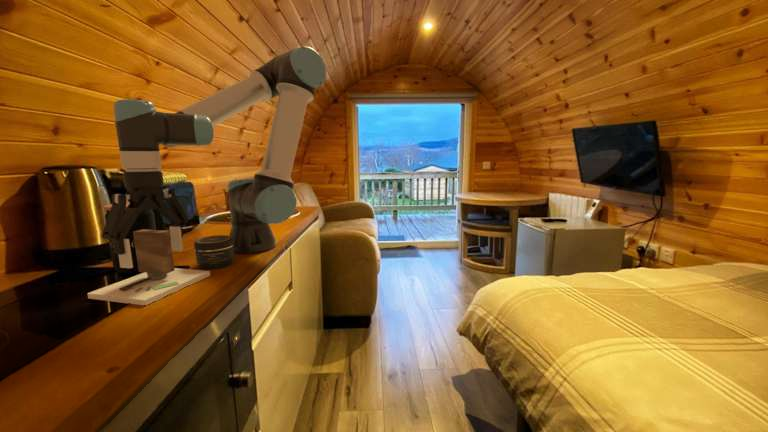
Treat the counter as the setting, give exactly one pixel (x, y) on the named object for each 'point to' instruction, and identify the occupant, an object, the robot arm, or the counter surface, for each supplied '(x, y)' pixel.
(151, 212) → the coffee jar
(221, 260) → the jar
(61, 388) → the counter surface
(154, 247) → the brown upright panel
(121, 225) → the robot arm
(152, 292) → the plate
